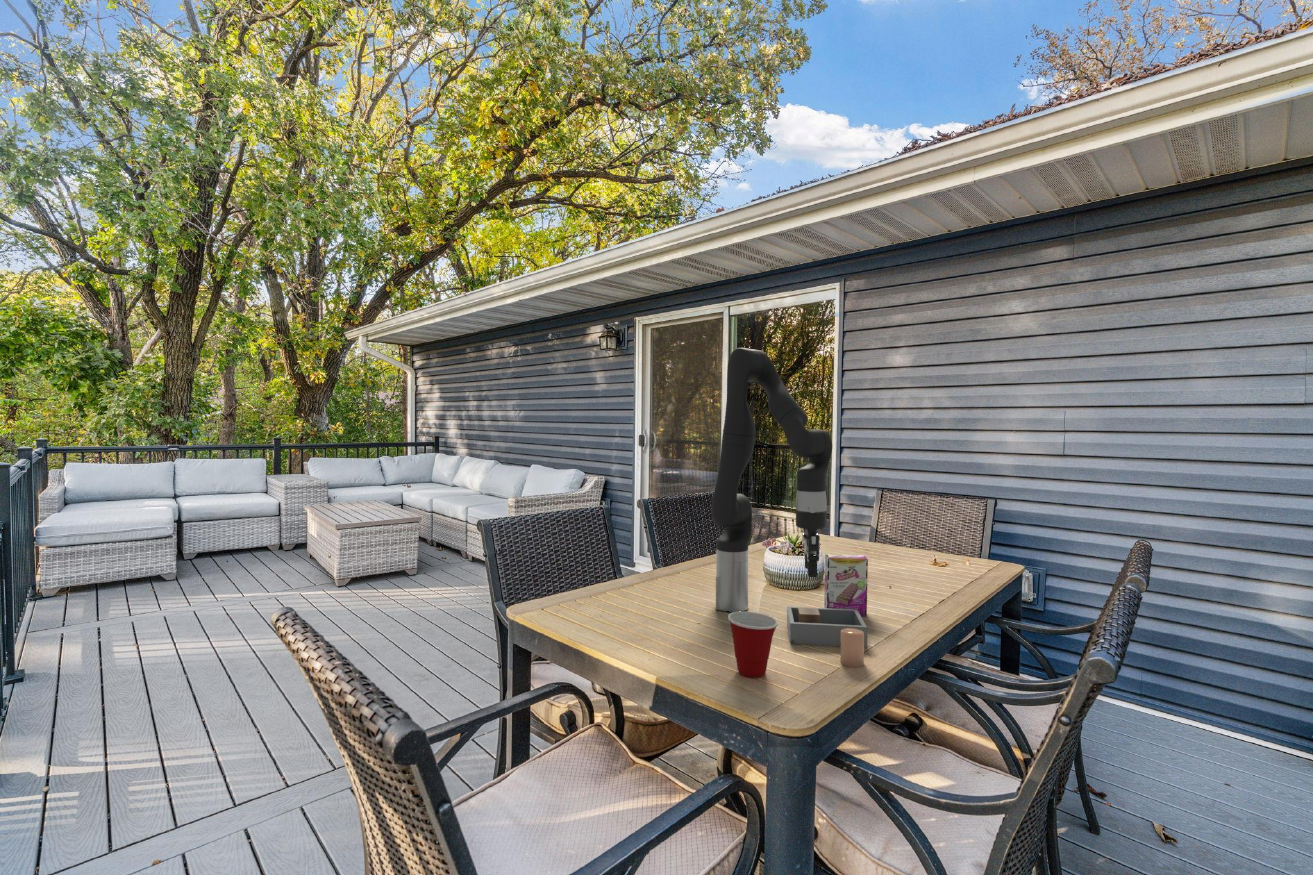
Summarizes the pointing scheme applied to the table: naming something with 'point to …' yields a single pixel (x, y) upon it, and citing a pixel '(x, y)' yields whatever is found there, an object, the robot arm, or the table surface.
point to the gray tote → (824, 626)
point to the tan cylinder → (852, 647)
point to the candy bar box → (846, 582)
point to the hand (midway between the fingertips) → (810, 572)
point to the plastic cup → (752, 641)
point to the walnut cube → (808, 615)
